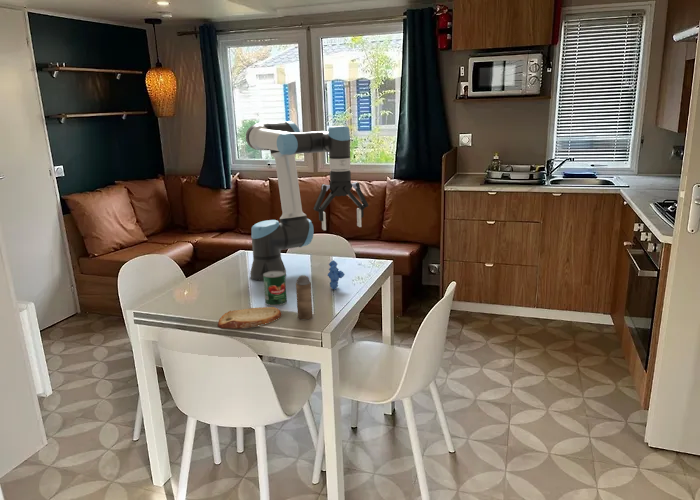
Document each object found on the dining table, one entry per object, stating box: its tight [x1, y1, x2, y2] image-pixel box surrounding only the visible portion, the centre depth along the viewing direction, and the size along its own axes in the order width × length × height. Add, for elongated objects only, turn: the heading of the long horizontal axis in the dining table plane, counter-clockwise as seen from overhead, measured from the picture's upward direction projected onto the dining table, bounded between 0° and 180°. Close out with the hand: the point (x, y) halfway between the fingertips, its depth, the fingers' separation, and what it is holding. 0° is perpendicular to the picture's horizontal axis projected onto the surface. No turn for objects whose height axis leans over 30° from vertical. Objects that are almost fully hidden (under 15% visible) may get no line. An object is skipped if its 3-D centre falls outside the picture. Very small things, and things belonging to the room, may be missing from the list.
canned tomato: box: [263, 271, 288, 307], centre depth 204 cm, size 8×8×11 cm
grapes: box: [327, 260, 345, 291], centre depth 217 cm, size 12×7×12 cm, turn 1°
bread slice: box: [217, 306, 282, 330], centre depth 188 cm, size 18×18×4 cm
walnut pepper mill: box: [295, 274, 314, 320], centre depth 188 cm, size 5×5×15 cm
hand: (341, 228), depth 206 cm, fingers open, 13 cm apart
